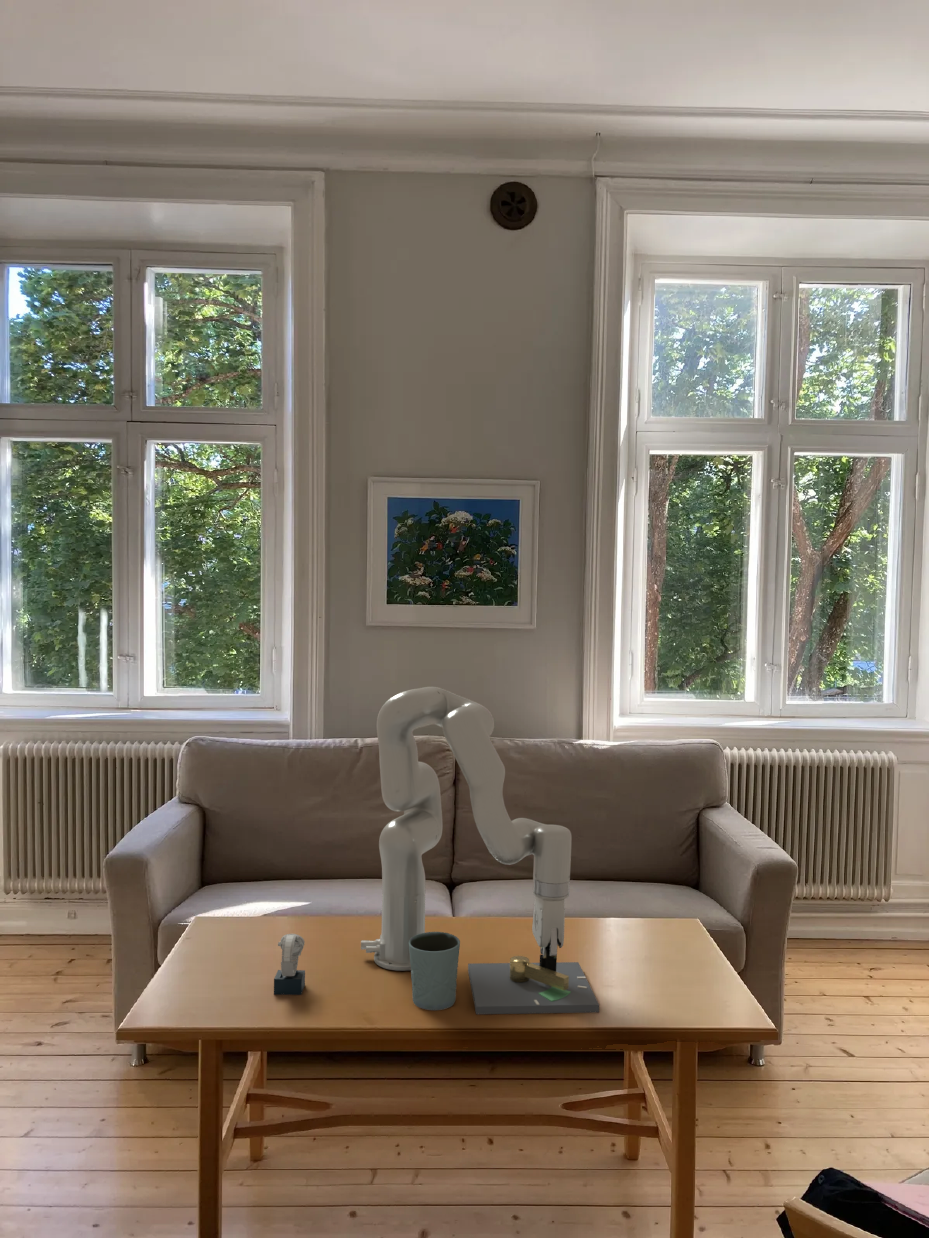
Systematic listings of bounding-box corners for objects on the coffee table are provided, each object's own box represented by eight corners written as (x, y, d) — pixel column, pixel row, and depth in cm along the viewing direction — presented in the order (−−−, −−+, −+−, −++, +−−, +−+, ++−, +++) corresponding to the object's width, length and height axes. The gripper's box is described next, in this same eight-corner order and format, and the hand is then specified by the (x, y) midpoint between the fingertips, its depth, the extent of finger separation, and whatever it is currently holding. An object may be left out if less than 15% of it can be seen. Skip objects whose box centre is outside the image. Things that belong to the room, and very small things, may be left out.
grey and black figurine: (306, 981, 182) (307, 928, 182) (299, 998, 174) (300, 943, 174) (279, 980, 182) (280, 928, 182) (271, 998, 174) (272, 943, 174)
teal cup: (467, 995, 177) (468, 936, 177) (445, 1016, 168) (446, 954, 167) (422, 985, 181) (423, 928, 181) (398, 1006, 172) (399, 945, 171)
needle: (505, 978, 181) (506, 959, 181) (517, 972, 184) (517, 954, 184) (560, 998, 173) (560, 978, 173) (571, 991, 176) (572, 972, 176)
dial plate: (476, 1014, 169) (476, 1005, 169) (468, 970, 189) (468, 962, 189) (599, 1012, 171) (599, 1003, 171) (578, 968, 191) (578, 961, 191)
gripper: (526, 874, 187) (523, 959, 187) (539, 899, 172) (536, 991, 173) (561, 875, 188) (558, 959, 188) (577, 899, 173) (573, 991, 173)
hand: (547, 974), depth 180 cm, fingers closed
